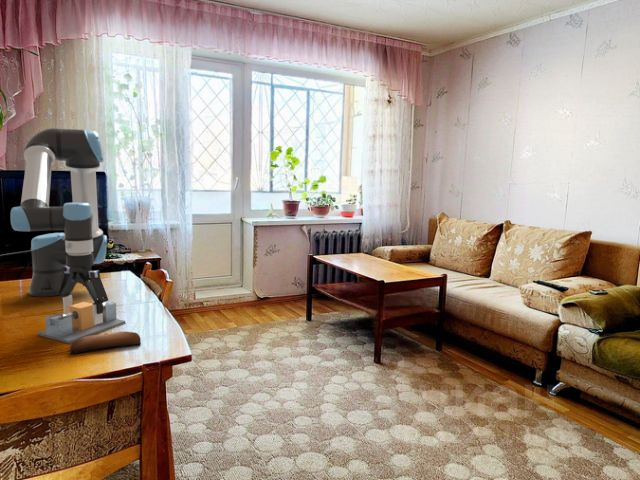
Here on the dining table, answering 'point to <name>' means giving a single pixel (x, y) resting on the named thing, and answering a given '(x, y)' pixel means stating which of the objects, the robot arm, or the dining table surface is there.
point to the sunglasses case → (105, 341)
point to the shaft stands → (62, 323)
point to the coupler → (82, 315)
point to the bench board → (85, 331)
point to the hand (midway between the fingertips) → (83, 319)
